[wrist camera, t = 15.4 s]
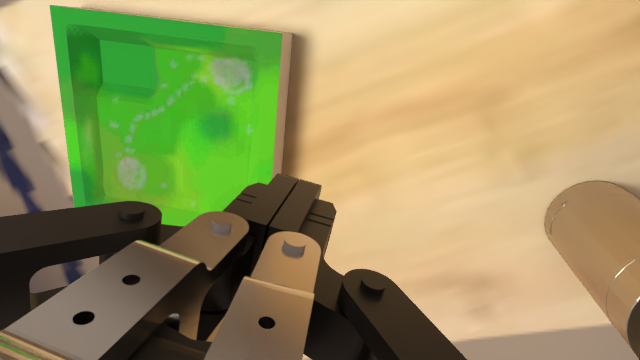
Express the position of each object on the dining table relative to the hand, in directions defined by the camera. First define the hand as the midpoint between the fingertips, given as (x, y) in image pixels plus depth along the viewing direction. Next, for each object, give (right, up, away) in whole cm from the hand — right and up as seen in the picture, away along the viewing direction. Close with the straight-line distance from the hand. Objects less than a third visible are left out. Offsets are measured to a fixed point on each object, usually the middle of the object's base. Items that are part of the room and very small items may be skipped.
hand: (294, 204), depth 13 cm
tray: (-16, +7, +36) cm, 40 cm away
